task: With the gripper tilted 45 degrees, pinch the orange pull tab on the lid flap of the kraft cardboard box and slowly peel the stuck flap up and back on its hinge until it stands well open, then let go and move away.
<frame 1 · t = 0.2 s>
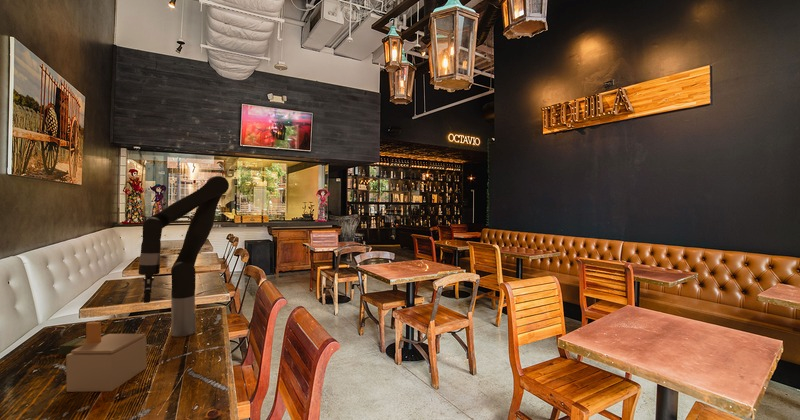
hand: (146, 300, 155), 17 cm above the table, tool pointing down, fingers open, 8 cm apart
lid flap: (108, 333, 121), point 16 cm above the table, hinge at 0.0°
carton: (88, 351, 144), on the table
cardboard box: (109, 378, 121), on the table
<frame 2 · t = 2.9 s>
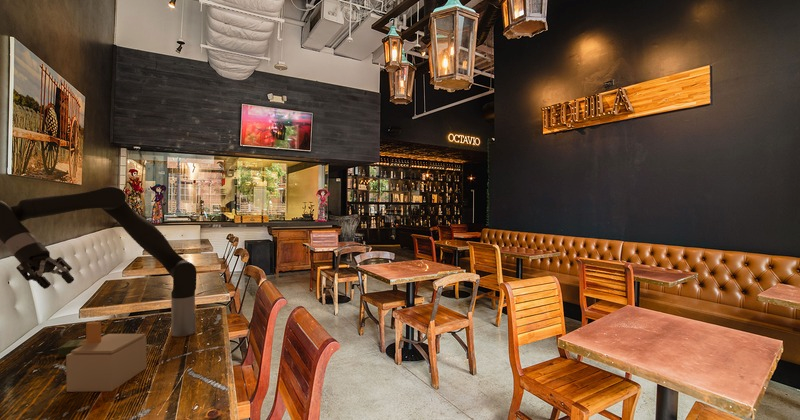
hand: (60, 284, 121), 32 cm above the table, tool tilted 45°, fingers open, 8 cm apart
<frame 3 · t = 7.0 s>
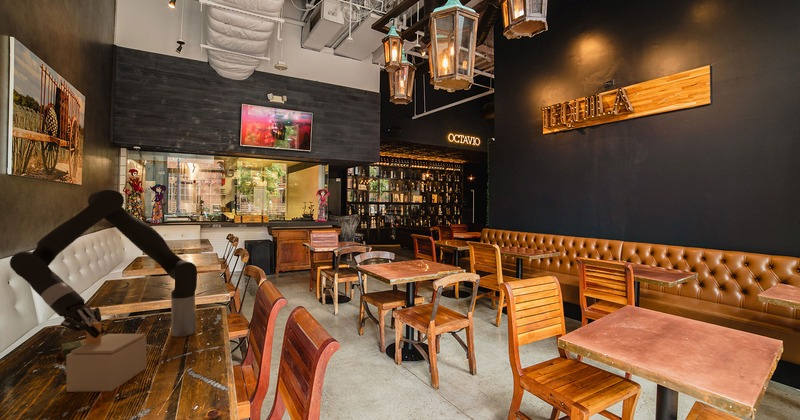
hand: (100, 334, 121), 15 cm above the table, tool tilted 45°, fingers closed
lid flap: (108, 333, 121), point 16 cm above the table, hinge at 0.0°, touching gripper
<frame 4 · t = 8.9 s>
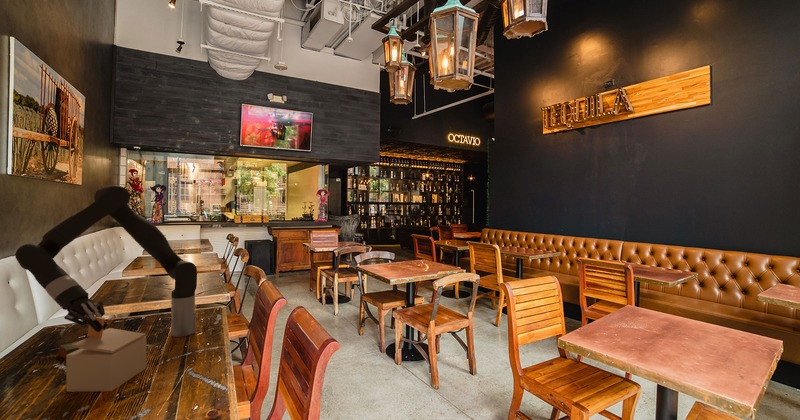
hand: (103, 329, 121), 17 cm above the table, tool tilted 45°, fingers closed
lid flap: (110, 330, 121), point 17 cm above the table, hinge at 9.2°, touching gripper
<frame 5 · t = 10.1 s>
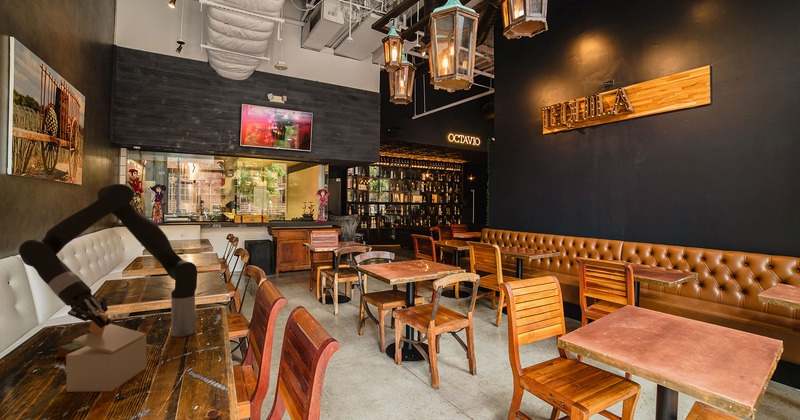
hand: (106, 324, 121), 18 cm above the table, tool tilted 45°, fingers closed
lid flap: (112, 328, 121), point 17 cm above the table, hinge at 16.4°, touching gripper
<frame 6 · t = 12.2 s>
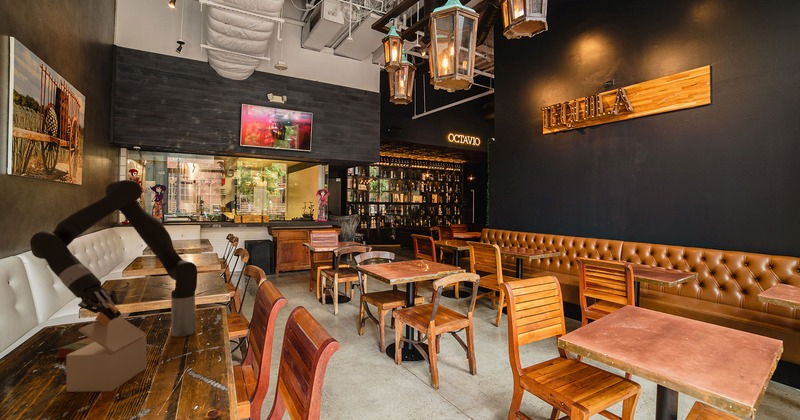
hand: (116, 317, 121), 21 cm above the table, tool tilted 45°, fingers closed
lid flap: (118, 323, 121), point 19 cm above the table, hinge at 34.6°, touching gripper
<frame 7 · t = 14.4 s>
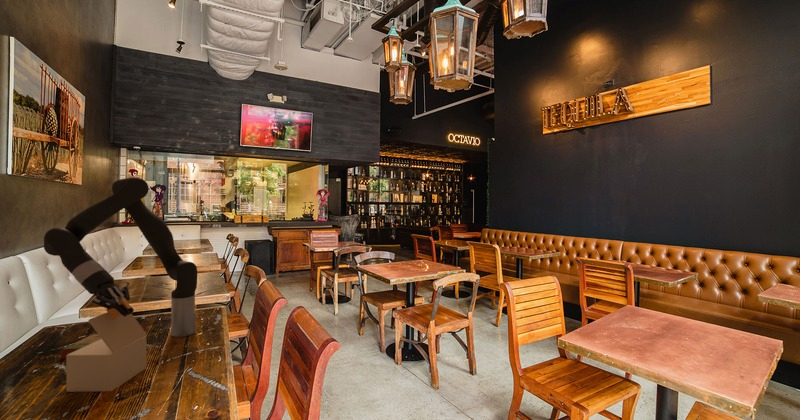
hand: (129, 313, 121), 22 cm above the table, tool tilted 45°, fingers closed
lid flap: (126, 321, 121), point 20 cm above the table, hinge at 54.4°, touching gripper
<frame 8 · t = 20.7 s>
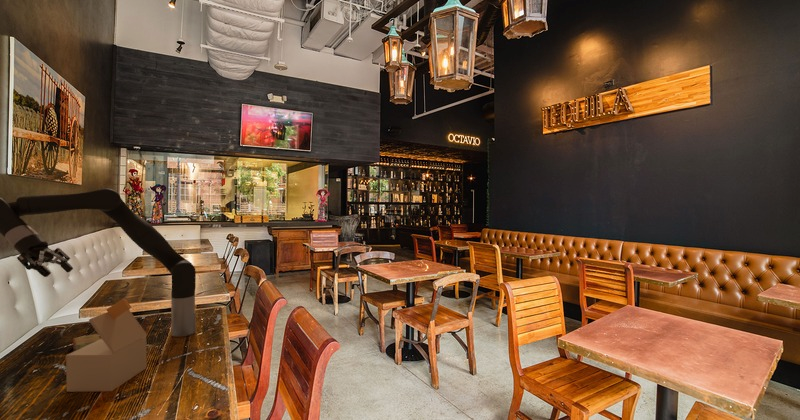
hand: (59, 272, 127), 35 cm above the table, tool tilted 45°, fingers open, 8 cm apart
lid flap: (126, 321, 121), point 20 cm above the table, hinge at 55.1°
at the end: lid flap at +55° (first picture: +0°); the gripper is holding nothing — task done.
